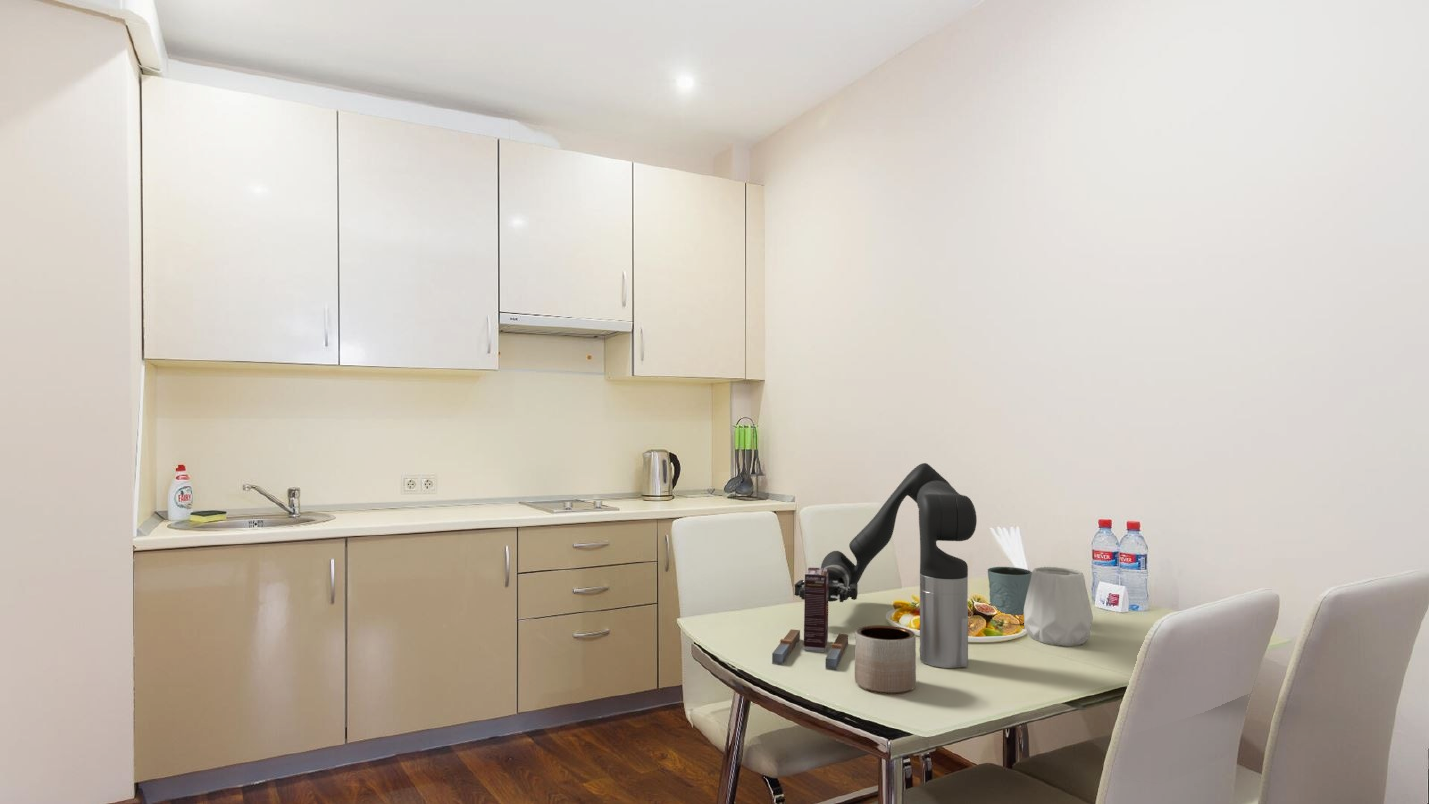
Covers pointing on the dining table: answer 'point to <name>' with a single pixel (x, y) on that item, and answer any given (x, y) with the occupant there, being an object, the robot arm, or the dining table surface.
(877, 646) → the planter
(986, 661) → the dining table surface
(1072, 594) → the vase
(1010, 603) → the teal embossed flower pot
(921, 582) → the robot arm
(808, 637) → the supplement box
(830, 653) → the pair of brown-grey bars
